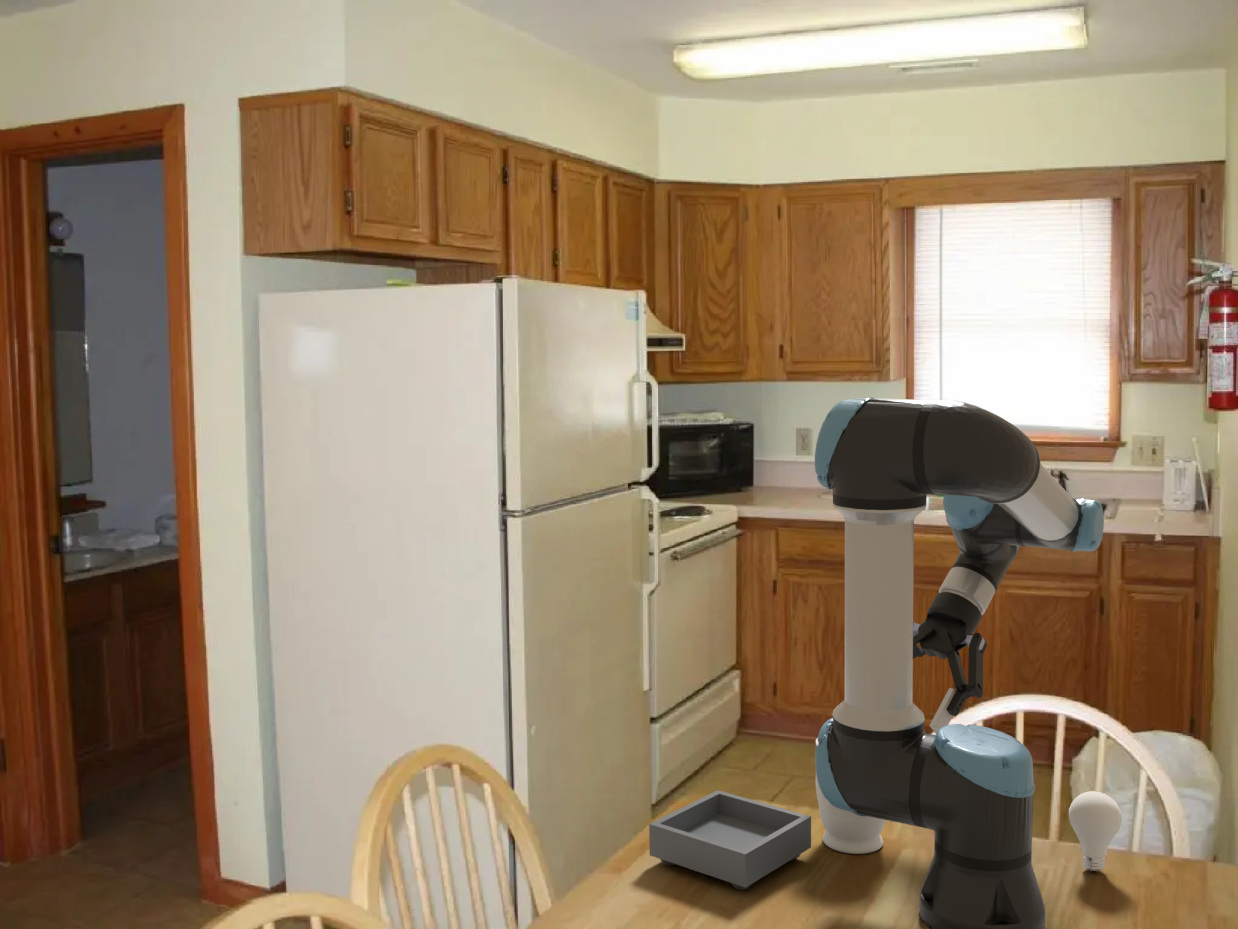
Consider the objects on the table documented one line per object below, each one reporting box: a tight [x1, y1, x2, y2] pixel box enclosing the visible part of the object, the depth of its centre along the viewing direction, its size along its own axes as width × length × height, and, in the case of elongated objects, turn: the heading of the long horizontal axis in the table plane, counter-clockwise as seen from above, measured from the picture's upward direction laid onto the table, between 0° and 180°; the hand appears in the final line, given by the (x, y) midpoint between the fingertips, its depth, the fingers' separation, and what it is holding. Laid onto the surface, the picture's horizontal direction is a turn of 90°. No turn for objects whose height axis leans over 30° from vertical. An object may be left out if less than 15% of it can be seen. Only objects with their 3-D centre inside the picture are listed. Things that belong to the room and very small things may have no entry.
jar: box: [815, 737, 887, 855], centre depth 180 cm, size 11×10×15 cm
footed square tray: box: [648, 789, 812, 891], centre depth 174 cm, size 16×16×6 cm
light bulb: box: [1068, 790, 1122, 873], centre depth 170 cm, size 7×7×11 cm
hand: (897, 720), depth 185 cm, fingers open, 13 cm apart
